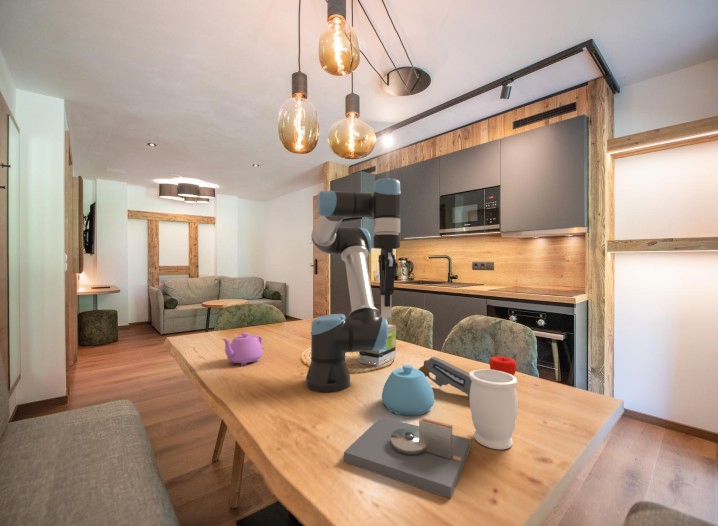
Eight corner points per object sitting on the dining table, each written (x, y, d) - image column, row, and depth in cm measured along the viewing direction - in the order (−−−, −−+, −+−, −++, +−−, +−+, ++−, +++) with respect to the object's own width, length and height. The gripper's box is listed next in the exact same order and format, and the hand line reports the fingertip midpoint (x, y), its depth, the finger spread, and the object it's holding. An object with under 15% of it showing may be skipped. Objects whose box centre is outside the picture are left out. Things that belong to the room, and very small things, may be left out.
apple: (509, 387, 109) (509, 363, 109) (484, 380, 116) (484, 357, 116) (520, 380, 115) (520, 358, 115) (496, 374, 122) (496, 353, 122)
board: (343, 461, 68) (343, 451, 68) (380, 424, 83) (380, 415, 83) (451, 498, 57) (451, 486, 57) (470, 448, 73) (470, 438, 73)
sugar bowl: (373, 400, 99) (373, 361, 99) (415, 392, 105) (415, 356, 105) (398, 422, 85) (397, 377, 85) (445, 412, 91) (445, 370, 91)
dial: (384, 448, 69) (384, 418, 69) (399, 431, 76) (399, 404, 76) (445, 467, 62) (445, 435, 62) (456, 447, 69) (456, 418, 69)
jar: (462, 429, 81) (462, 369, 81) (502, 428, 82) (502, 368, 82) (482, 454, 70) (482, 384, 70) (527, 452, 71) (527, 383, 71)
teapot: (233, 372, 124) (233, 340, 124) (211, 365, 132) (211, 335, 132) (273, 359, 141) (273, 331, 141) (251, 354, 149) (251, 327, 149)
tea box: (379, 367, 130) (379, 330, 130) (358, 363, 136) (358, 327, 136) (396, 358, 143) (396, 324, 143) (376, 354, 148) (376, 322, 148)
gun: (475, 430, 98) (494, 388, 94) (411, 380, 114) (425, 343, 110) (479, 426, 100) (498, 385, 96) (416, 378, 116) (430, 341, 112)
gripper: (370, 235, 98) (369, 313, 99) (377, 232, 85) (377, 322, 86) (394, 236, 99) (394, 313, 100) (405, 232, 86) (404, 321, 87)
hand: (386, 317), depth 93 cm, fingers closed
